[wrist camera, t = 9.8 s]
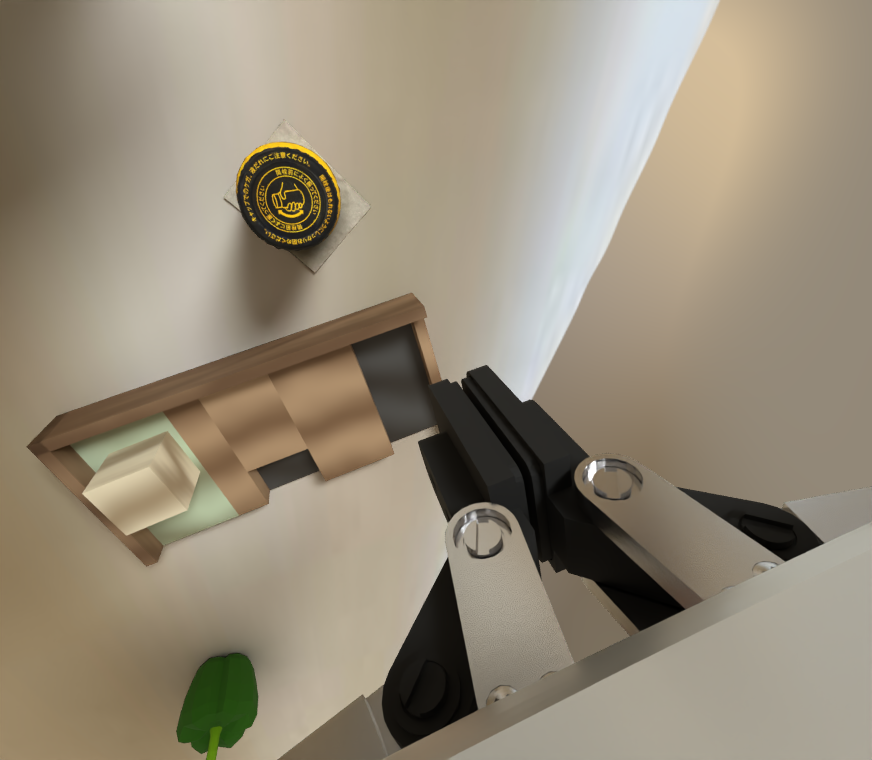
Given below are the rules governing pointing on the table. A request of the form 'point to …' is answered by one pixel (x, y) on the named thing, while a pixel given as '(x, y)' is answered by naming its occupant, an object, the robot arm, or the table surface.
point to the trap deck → (262, 417)
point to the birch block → (144, 483)
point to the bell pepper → (219, 704)
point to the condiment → (295, 198)
